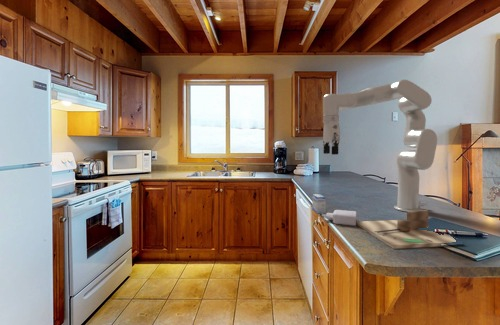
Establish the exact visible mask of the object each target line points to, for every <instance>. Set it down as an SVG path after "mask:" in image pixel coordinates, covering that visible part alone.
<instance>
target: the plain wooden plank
mask: <svg viewBox="0 0 500 325" xmlns="http://www.w3.org/2000/svg"><path fill="white" fill-rule="evenodd" d="M429 212H430V211H429V210H427V209H422V210H419V211H409V212H406V218H400V219H399V218H398V219H396V220H397V229H392V230H383V231H377V233H381V232H389V231H397V230H400V231H406V232H408V231H410V230H411V229H419V228H428V227H429Z"/></svg>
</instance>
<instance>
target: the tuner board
mask: <svg viewBox="0 0 500 325" xmlns="http://www.w3.org/2000/svg"><path fill="white" fill-rule="evenodd" d="M397 220H398V219H391V220H390V219H389V220H387V219H386V220H371V221H370V220H366V221H365V220H363V221H361V220H360V221H356V226H358V228H361V229H362V230H364V231H365V232H367V233H369V234H370V235H371V236H373V237H374V238H376V239H378V240H380V241H381V242H382V243H384V244H385V245H387V246H389V247H390V248H392V249H393V250H394V249H411V248H431V247H432V248H433V247H441V246H440V245H441V244H444V243H452V242H456V240H455V239H454V238H455V237H454V236H451V235H449V234H447V233H444V235H442V234H441V235H439V234H438V233H435V232H433V231H427V230H418V229H411V230H410V231H408V232H406V231H400V230H397V231H389V232H381V233H377V231H383V230H392V229H397ZM453 237H454V238H453Z"/></svg>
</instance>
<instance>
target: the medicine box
mask: <svg viewBox="0 0 500 325" xmlns="http://www.w3.org/2000/svg"><path fill="white" fill-rule="evenodd" d="M311 202H312V204H311V205H312V206H311V207H312V212H315V214H317V215H322V214H326V204H327V201H326V197H325V196H324V195H322V194H321V193H320V194H319V193H314V194H312V201H311Z"/></svg>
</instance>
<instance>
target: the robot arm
mask: <svg viewBox="0 0 500 325" xmlns="http://www.w3.org/2000/svg"><path fill="white" fill-rule="evenodd" d="M395 100H398V102H397V107H398V108H399V110H400V112H402V113H403V115H404V116H405V120H406V122H405V123H406V124H405V128H404V129H405V130H404V135H403V141H402V142H403V145H404V146H405V147H407V148H413V150H412V149H406V150H402V151H401V152H399V153H398V154H397V157H396V165H397V170H398V171H397V173H398V174H397V175H398V177H397V200H396V202H397V204H395V205H393V208H394V209H395V210H398V211H400V212H406V213H407V212H409V211H419V210H423V208H422V207H427V205H428V203H427V201H426V202H425V201H422V202H421V201H419V199H420V198H419V197H420V196H419V195H420V173H419V170H420V171H425V170H428V169H430V168H431V167H432V165H433V163H434V160H435V155H436V152H437V145H438V136H437V133H436V132H435V130H433V129H431V128H426V122H427V121H426V120H427V119H426V115H425V113H424V112H423V110H426V109H427V108H429V107H430V106H431V104H432V96H431V94H430V93H429V92H428V91H426V90H425V89H424V88H422V87H420V86H419V85H417V83H414V82H413V81H411V80H408V79H400V80H397V81H394V82H391V83H386V84H381V85H377V86H373V87H372V86H371V87H368V88H365V89H363V90H360V91H357V92H354V93H350V92H348V93H346V92H345V93H339V94H338V93H327V94H325V95H324V96H323V98H322V106H323V107H322V115H323V116H322V117H323V118H322V123H323V134H322V142H323V154H331V155H332V156H333V155H339V146H340V142H341V129H340V128H341V127H340V112H341V111H345V110H346V111H347V110H351V109H355V108H360V107H361V108H362V107H366V106H371V105H376V104H381V103H386V102H390V101H395ZM330 143H331V144H330ZM330 145H331V146H330ZM414 148H415V149H416V150H415V149H414ZM330 152H331V153H330Z"/></svg>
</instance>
